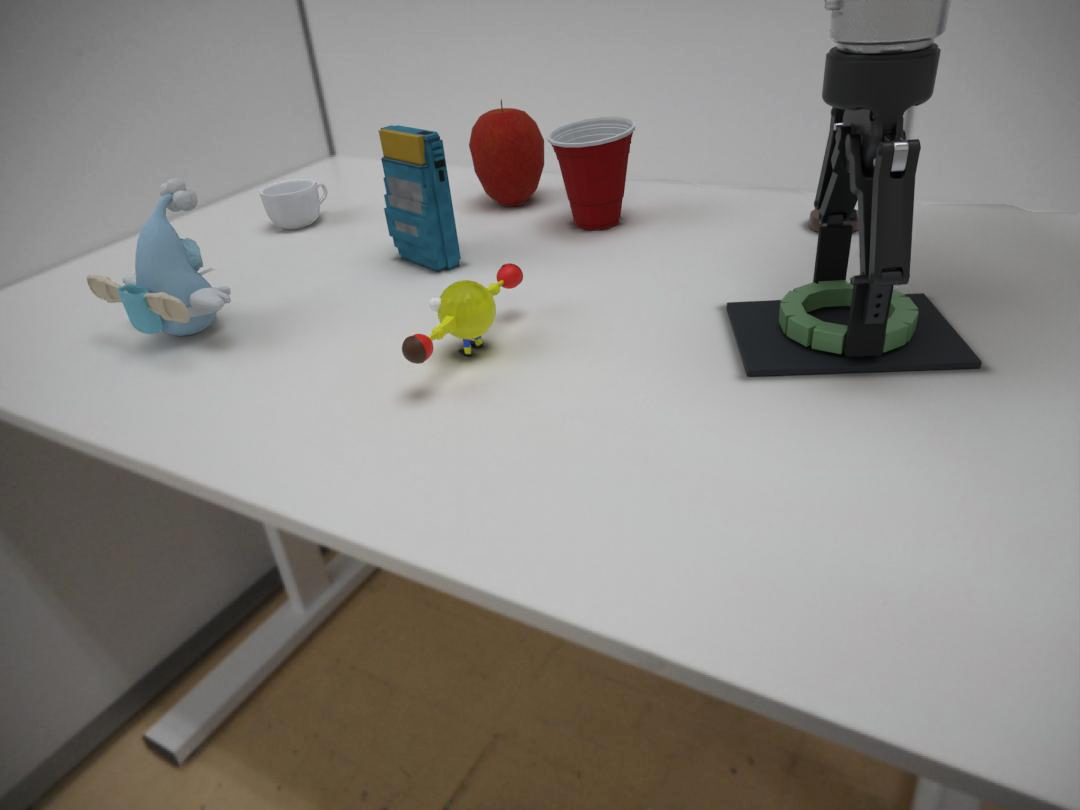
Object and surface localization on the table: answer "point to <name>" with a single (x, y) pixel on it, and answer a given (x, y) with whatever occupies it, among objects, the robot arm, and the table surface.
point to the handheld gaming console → (419, 197)
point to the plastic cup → (594, 167)
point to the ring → (834, 335)
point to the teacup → (292, 202)
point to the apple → (507, 155)
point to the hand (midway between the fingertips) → (843, 322)
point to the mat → (784, 356)
